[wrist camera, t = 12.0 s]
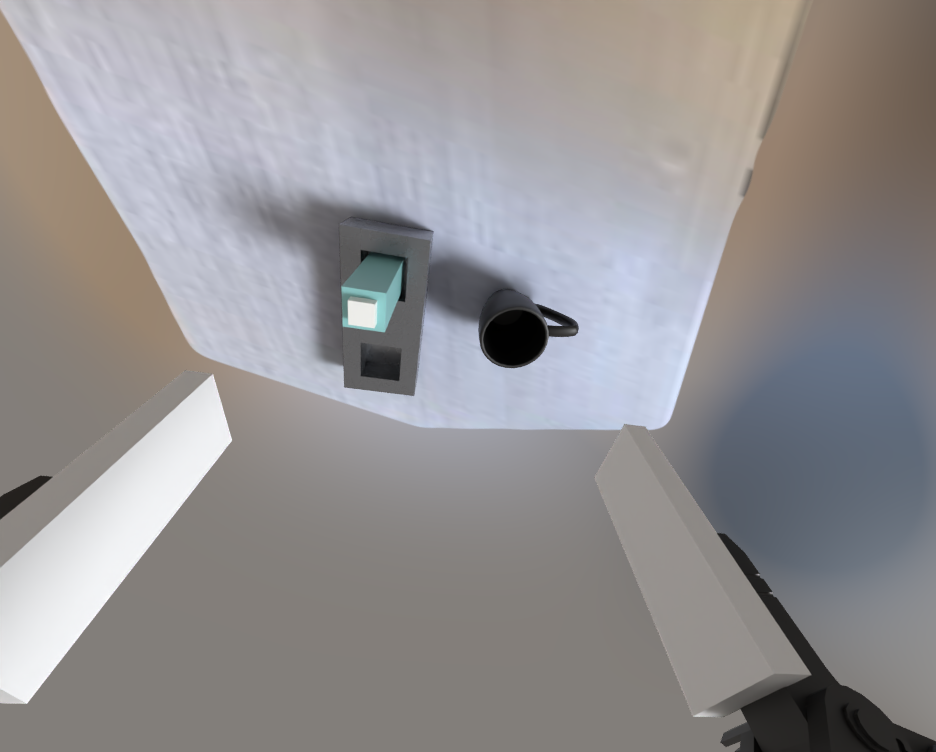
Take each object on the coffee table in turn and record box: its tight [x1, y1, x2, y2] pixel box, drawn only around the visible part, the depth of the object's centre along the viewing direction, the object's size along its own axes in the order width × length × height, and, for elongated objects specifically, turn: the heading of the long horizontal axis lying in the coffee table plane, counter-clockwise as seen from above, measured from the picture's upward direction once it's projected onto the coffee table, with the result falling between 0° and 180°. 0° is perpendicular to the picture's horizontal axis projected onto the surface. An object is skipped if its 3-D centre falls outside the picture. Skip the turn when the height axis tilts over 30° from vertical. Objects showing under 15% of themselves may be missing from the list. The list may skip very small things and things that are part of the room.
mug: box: [479, 289, 579, 368], centre depth 44 cm, size 8×12×10 cm
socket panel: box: [339, 217, 433, 396], centre depth 46 cm, size 22×10×5 cm, turn 170°
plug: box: [341, 252, 406, 332], centre depth 37 cm, size 4×4×15 cm
